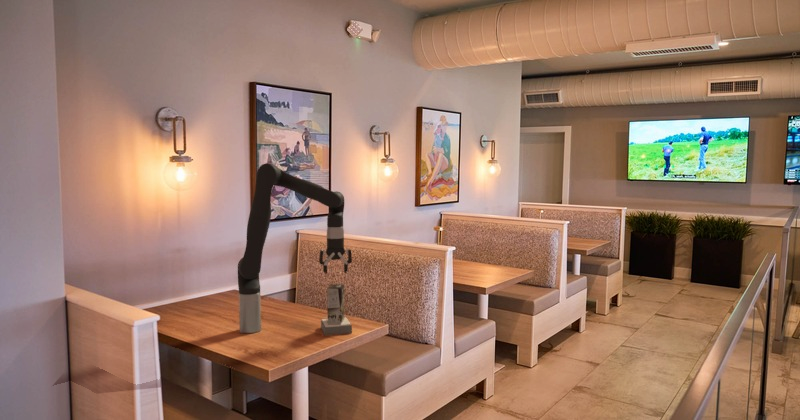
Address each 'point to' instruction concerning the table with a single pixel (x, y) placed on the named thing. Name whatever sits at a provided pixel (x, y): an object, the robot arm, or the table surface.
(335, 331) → the pedestal
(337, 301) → the coffee box
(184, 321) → the table surface
